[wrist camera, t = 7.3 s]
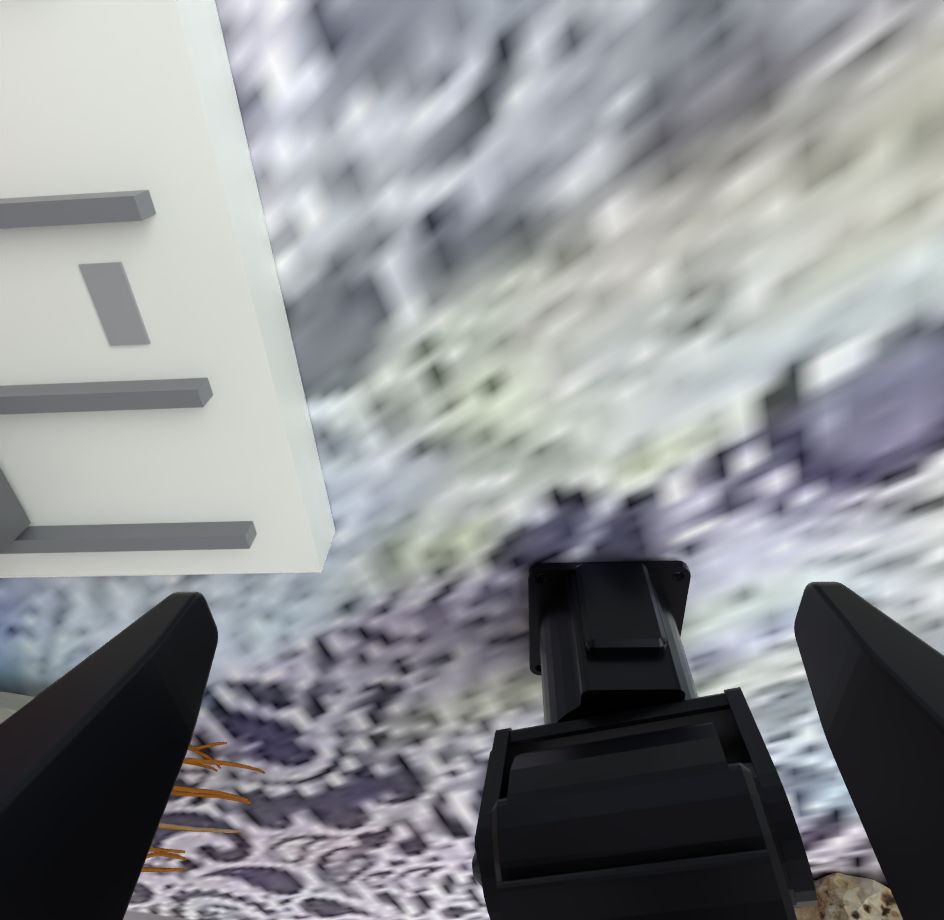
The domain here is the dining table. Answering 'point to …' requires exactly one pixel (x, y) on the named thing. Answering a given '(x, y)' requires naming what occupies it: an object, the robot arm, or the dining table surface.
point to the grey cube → (10, 514)
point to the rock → (850, 900)
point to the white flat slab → (142, 307)
